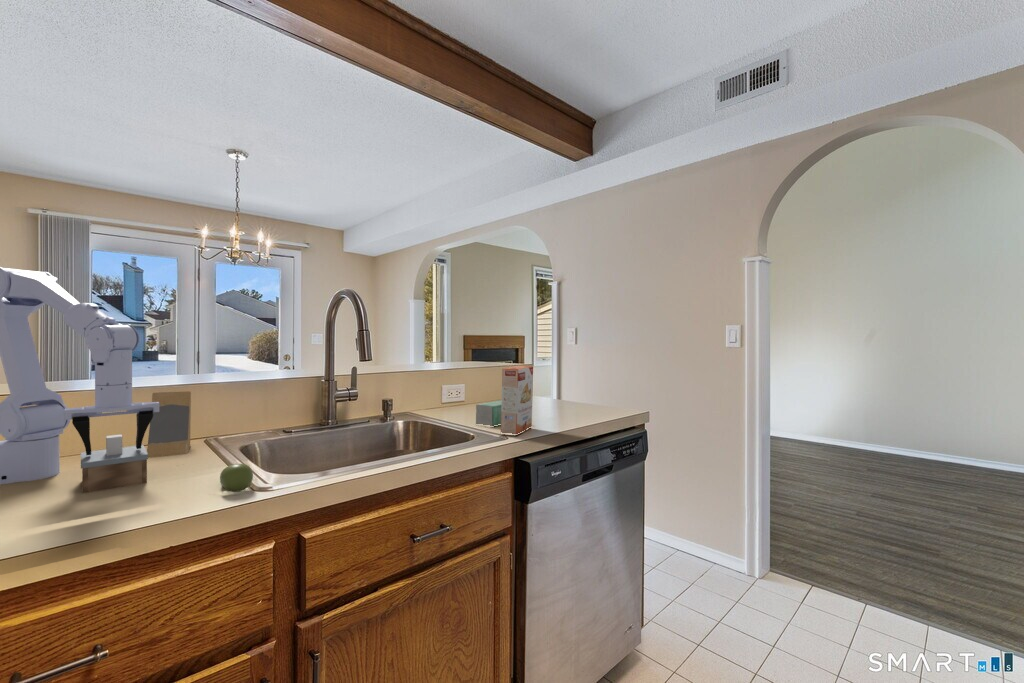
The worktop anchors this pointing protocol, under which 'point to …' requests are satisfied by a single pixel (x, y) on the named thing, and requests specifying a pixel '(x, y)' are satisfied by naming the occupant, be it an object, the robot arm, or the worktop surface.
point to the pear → (236, 477)
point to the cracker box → (516, 399)
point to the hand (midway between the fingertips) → (114, 450)
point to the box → (489, 413)
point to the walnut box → (114, 475)
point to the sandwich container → (170, 424)
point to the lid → (113, 454)
